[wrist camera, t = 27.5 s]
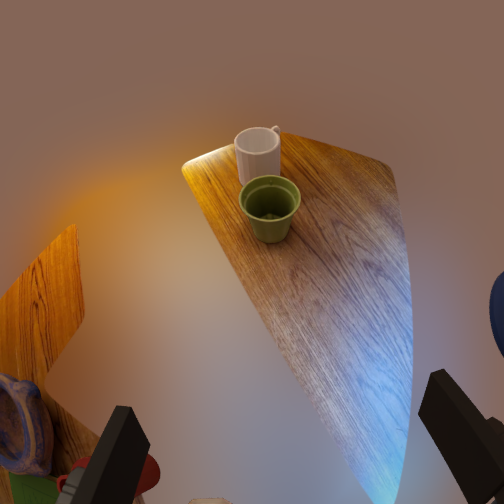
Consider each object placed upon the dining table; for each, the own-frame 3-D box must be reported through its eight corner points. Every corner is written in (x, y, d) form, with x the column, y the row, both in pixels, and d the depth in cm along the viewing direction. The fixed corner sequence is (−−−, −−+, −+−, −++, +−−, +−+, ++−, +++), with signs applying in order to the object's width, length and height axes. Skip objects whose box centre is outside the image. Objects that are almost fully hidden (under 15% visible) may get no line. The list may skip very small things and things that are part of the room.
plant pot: (232, 234, 51) (225, 202, 44) (265, 200, 55) (263, 166, 47) (276, 262, 48) (276, 232, 41) (307, 224, 51) (312, 191, 44)
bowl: (12, 461, 29) (-23, 459, 20) (7, 378, 38) (-28, 366, 30) (76, 482, 29) (39, 489, 21) (67, 385, 38) (29, 375, 30)
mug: (295, 161, 60) (298, 124, 51) (266, 198, 55) (264, 159, 47) (263, 149, 62) (261, 113, 54) (231, 182, 58) (225, 145, 49)
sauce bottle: (169, 470, 32) (107, 499, 16) (145, 496, 29) (79, 528, 14) (135, 441, 34) (61, 448, 19) (112, 467, 32) (37, 480, 16)
